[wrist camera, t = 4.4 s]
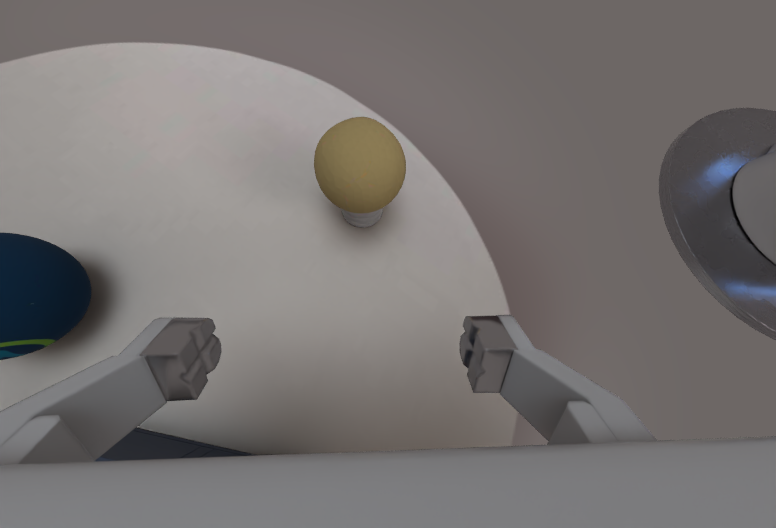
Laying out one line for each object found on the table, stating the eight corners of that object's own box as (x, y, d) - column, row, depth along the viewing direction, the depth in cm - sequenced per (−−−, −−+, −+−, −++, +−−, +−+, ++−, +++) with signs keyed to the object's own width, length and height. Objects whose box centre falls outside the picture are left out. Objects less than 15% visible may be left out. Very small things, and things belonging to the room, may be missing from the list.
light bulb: (314, 203, 28) (286, 125, 18) (370, 170, 29) (371, 81, 19) (353, 256, 26) (345, 203, 17) (410, 219, 28) (431, 150, 18)
